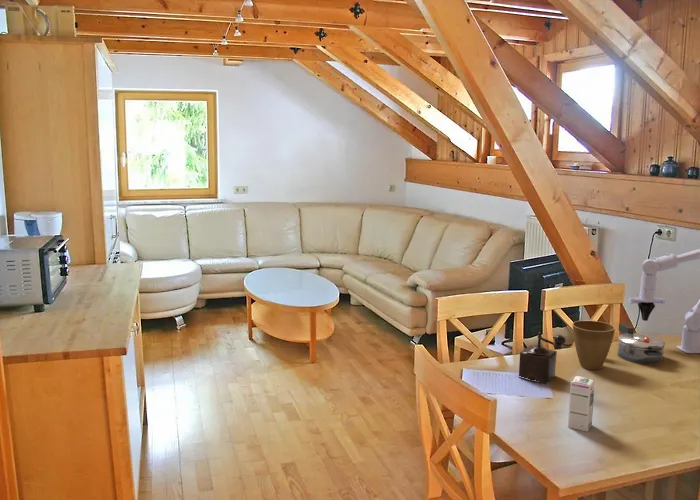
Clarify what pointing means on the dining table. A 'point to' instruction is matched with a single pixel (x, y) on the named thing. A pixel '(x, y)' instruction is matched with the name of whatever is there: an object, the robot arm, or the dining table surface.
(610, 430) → the dining table surface
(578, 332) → the plant pot
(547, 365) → the manual coffee grinder
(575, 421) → the syrup box
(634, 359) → the clear plastic food container
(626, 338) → the lid
